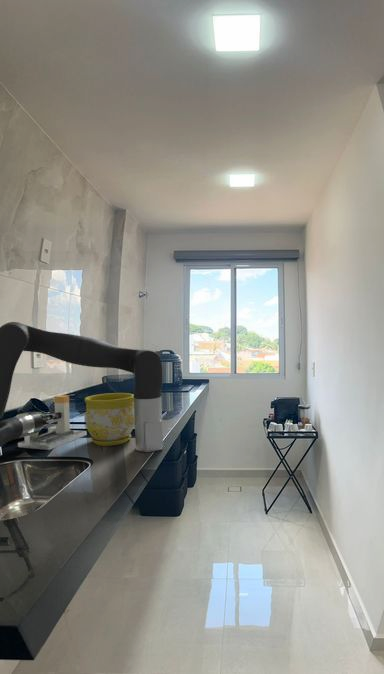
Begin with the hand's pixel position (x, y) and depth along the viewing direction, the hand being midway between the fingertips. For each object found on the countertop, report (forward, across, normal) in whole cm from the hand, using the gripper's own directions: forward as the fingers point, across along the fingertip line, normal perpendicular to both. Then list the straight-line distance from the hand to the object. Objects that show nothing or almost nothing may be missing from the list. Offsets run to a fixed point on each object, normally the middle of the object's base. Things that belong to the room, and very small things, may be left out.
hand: (59, 415), depth 151 cm
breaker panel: (-4, 0, +9) cm, 10 cm away
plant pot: (0, +15, +9) cm, 18 cm away
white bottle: (+2, 0, +7) cm, 7 cm away
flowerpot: (+1, -22, +9) cm, 24 cm away
